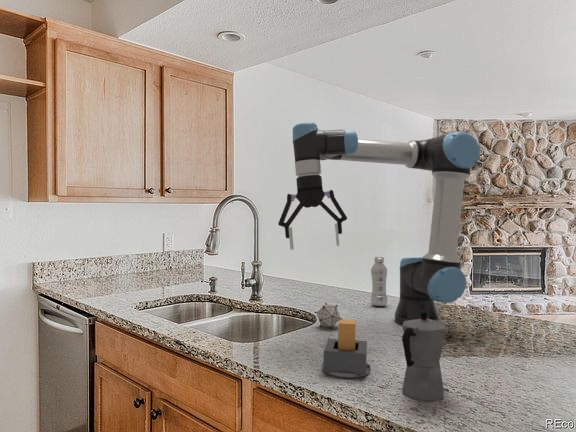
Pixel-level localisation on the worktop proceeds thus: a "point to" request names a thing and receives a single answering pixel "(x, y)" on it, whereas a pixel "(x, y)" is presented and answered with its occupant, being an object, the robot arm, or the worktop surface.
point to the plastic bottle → (379, 283)
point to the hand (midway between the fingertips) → (314, 247)
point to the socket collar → (345, 360)
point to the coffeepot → (423, 358)
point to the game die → (328, 315)
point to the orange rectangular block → (346, 334)
